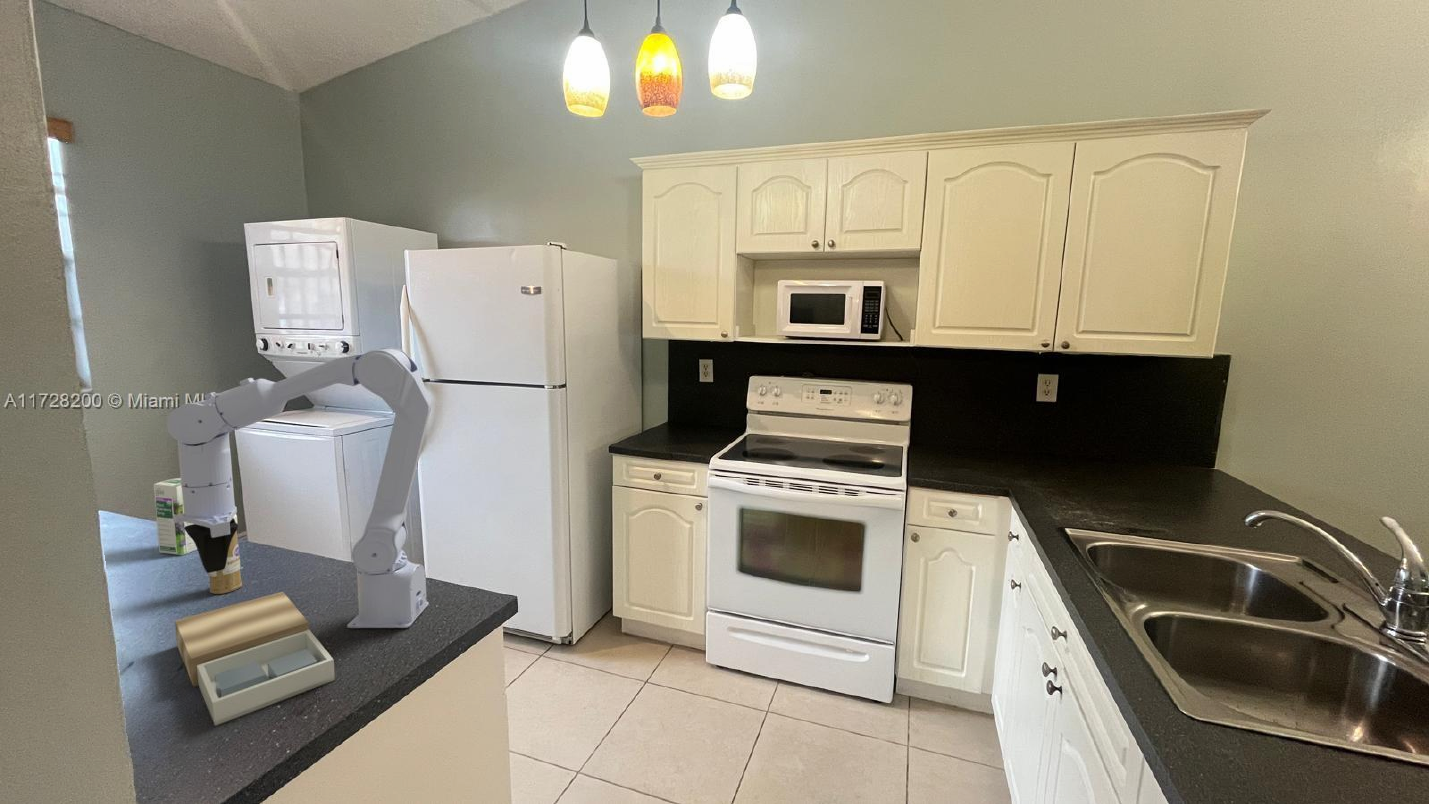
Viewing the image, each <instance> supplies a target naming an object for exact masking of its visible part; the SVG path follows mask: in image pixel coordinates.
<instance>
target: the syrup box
mask: <svg viewBox="0 0 1429 804" xmlns="http://www.w3.org/2000/svg"><path fill="white" fill-rule="evenodd" d="M153 492H154V506H155V513H156V516H155V517H156V526H157V527H156V529H157V540H158V551H159V554H171V555H178V556H184V555H187V554H189V553H191V552H195V551H198V550H197V547H196V545H195V543H194V541H193V539H192V538H191V537H190V536H189V535H188V534H187V532H186V531H185V529H184V528H185V527H186V526H188V525H193V524H192V523H188V522H179V523H175V522H174V521H173V516H174V515H179V514H183V513H184V508H183V497H182V486H181V477H178V478H171V479H166V480H162V481H159V482H156V483H154V484H153Z"/></svg>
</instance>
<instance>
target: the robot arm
mask: <svg viewBox="0 0 1429 804" xmlns="http://www.w3.org/2000/svg"><path fill="white" fill-rule="evenodd" d="M336 384H340V385H344V386H345V385H346V386H351V387H355V386H358V385H361V386H362V387H363V388H365V389H366V390H368V391H369V392H371V393H373V394H374V395H376V396H378V397H380V398H381V399H382V400H383V401H384V402H385V403H386V404H387V406H388V407H389V408H390V409H391V410H392V412H394V419H393V424H392V427H391V432H390V436H389V440H388V444H387V449H386V453H385V457H384V461H383V464H382V469H381V472H380V473H381V474H380V476H379V477H380V478H379V480H378V481H379V482H378V485H377V489H376V493H375V498H374V502H373V505H372V506H373V507H372V509H371V512H370V515H369V518H367V519H368V520H367V522H366V525H365V528H364V532H363V534H362V536H361V538H359V540H358V541H357V542H355V544H354V545H353V547H352V552H351V560H352V563H353V564H354V566H355V567H356V580H357V583H356V585H357V598H358V599H357V601H358V614H357V615H356V616H355V617H354V618H353V619H352V620H351V621H350V622H349V623H347V629H396V628H397V629H404V628H405V629H406V628H409V627H411V625H412V624H414V622H415V621H416V619H418V617H419V616H420V615H421V613H423V612H424V610H425V609H426V608H427V607H428V606H429V602H428V601H427V600H428V599H427V576H426V569H425V567H424V566H423V565H422V564H419V563H413V562H412V561H411V562H410V561H409V560H408V556H407V555H406V552H405V551H404V550H403V547H404V546H405V544H406V543H407V540H408V537H409V530H408V528H407V527H408V526H407V523H406V520H407V515H408V509H407V508H408V504H409V501H410V495H411V490H412V487H413V483H414V478H415V475H416V471H417V469H418V468H417V467H418V465H419V464H418V463H419V460H420V459H419V458H420V455H421V451H422V447H423V444H424V440H425V435H426V431H427V426H428V422H429V420H430V419H429V418H430V414H431V410H432V401H431V398H430V396H429V394H428V391H427V389H426V385H425V383H424V381H423V379H422V376H421V372H420V368H419V365H418V364H417V363H416V362H415V361H414V360H413V358H411V357H410V356H409V354H408V353H407V352H405V351H404V350H403V349H400V348H397V347H390V346H389V347H387V346H386V347H382V348H380V349H373V350H370V351H367V352H361V353H358V354H353V355H348V356H347V355H346V356H342V357H338V358H334V359H332V360H330V361H327V362H324V363H322V364H320V365H317V366H314V367H312V368H309V369H306V370H304V371H302V372H300V373H297V374H294V375H292V376H289V377H287V378H285V379H282V380H278V381H276V382H275V381H272V380H268V379H267V378H257V379H254V378H253V377H249V378H245V379H243V380H240V381H239V385H238V386H236V387H233V388H230V389H228V390H224V391H222V392H219V393H216V391H213V392H209V393H207V394H205V395H204V400H200V401H196V402H188V403H183V404H182V405H180V406H179V407H177V408H175V409H173V411H171V412H170V413H169V415H168V416H167V419H166V430H167V432H168V433H169V435H170V436H171V437H172V438H173V439H174V440H176V441H177V450H178V463H179V473H180V474H179V475H180V478H181V486H182V497H183V508H184V513H183V514H179V515H174V516H173V521H174V522H175V523H179V522H188V523H192V524H193V525H188V526H186V527H185V528H184V529H185V531H186V532H187V534H188V535H189V536H190V537H191V538H192V539H193V541H194V543H195V545H196V547H197V550H196V551H197V553H198V555H199V559H200V561H201V564H202V566H203V569H204V570H205V572H206V573H207V574H208V573H211V572H215V571H219V570H224V569H225V566H226V562H227V557H228V551H229V546H230V543H231V540H232V538H233V536H234V534H235V532H236V531H237V532H238V529H239V525H238V522H237V523H236V522H235V520H234V518H233V517H234V516H235V514H236V515H237V514H238V513H237V512H238V508H237V506H236V503H235V491H234V480H233V479H234V478H233V468H232V455H231V454H232V453H231V447H230V433H231V432H232V431H237V430H240V429H243V428H245V427H248V426H250V425H251V426H252V425H253V424H256V423H259V422H262V421H265V420H266V419H269V418H271V417H274V416H277V415H279V414H281V413H282V412H283V411H284V410H285V406H286V404H287V402H288V401H291V400H293V399H296V398H300V397H302V396H305V395H308V394H310V393H313V392H316V391H319V390H322V389H325V388H327V387H332V386H333V385H336Z"/></svg>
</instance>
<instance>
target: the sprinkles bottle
mask: <svg viewBox="0 0 1429 804" xmlns="http://www.w3.org/2000/svg"><path fill="white" fill-rule="evenodd" d="M233 518H234V520H235V522H236V523H237V524H238V515H237V513H236V514H235V516H234V517H233ZM207 575H208V576H209V592H210V593H211V594H214V595H219V594H221V595H222V594H228V593H231V592H234V591H236V590H238V589H240V588H241V587H242V586H243V582H242V577H241V576H242V575H241V558H240V546H239V541H238V530H237V531H236V532H235V534H234V536H233V538H232V540H231V543H230V546H229V551H228V557H227V562H226V566H225V569H224V570H219V571H215V572H211V573H207Z"/></svg>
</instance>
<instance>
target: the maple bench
mask: <svg viewBox="0 0 1429 804" xmlns="http://www.w3.org/2000/svg"><path fill="white" fill-rule="evenodd" d="M174 624H175V635H176V636H175V637H176V643H177V644H176V645H177V648H178V651H179V653H180V656H181V659H182V661H183V664H184V666H185V668H186V671H187V674H188V676H189V679H190V681H191V684H192V686H193V688H194V687H199V684H198V673H197V665H199V664H202V663H206V662H209V661H212V660H215V659H218V658H221V657H224V656H228V655H231V654H234V653H237V652H240V651H243V650H247V649H250V648H253V647H256V646H259V645H262V644H265V643H269V642H272V641H275V640H278V639H281V638H284V637H287V636H291V635H294V634H297V633H300V632H303V631H306V630H310V626H309V625H310V624H309V621H308V619H306V617H305V616H304V615H303V614H302V613H301V612H300V611H299V609H298V608H297V607H296V605H294V603H293V602H292V600H291V599H290V598H289V597H288V596H287V595H286V593H285V592H284V591H280V592H276V593H273V594H269V595H265V596H261V597H258V598H254V599H250V600H247V601H242V602H239V603H235V604H231V605H228V606H224V607H221V608H217V609H213V610H210V611H205V612H202V613H198V614H195V615H194V614H193V615H191V616H186V617H183V618H179V619H175V620H174Z"/></svg>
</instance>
